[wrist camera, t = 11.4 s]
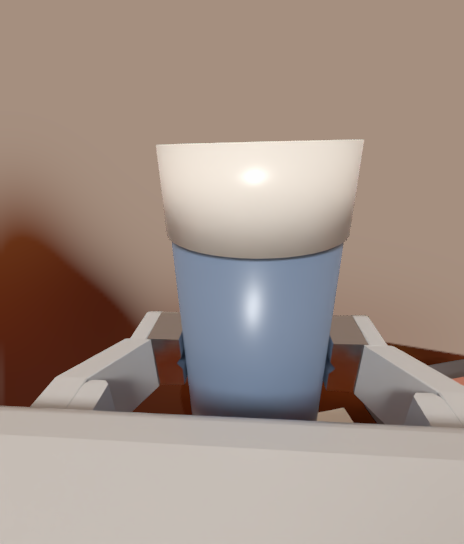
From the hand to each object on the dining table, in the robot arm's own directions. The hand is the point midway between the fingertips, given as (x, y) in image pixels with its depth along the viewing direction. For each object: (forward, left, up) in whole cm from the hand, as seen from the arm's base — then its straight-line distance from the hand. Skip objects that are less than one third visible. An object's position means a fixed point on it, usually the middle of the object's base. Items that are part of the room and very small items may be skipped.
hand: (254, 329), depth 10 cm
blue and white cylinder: (0, +1, -7) cm, 7 cm away
